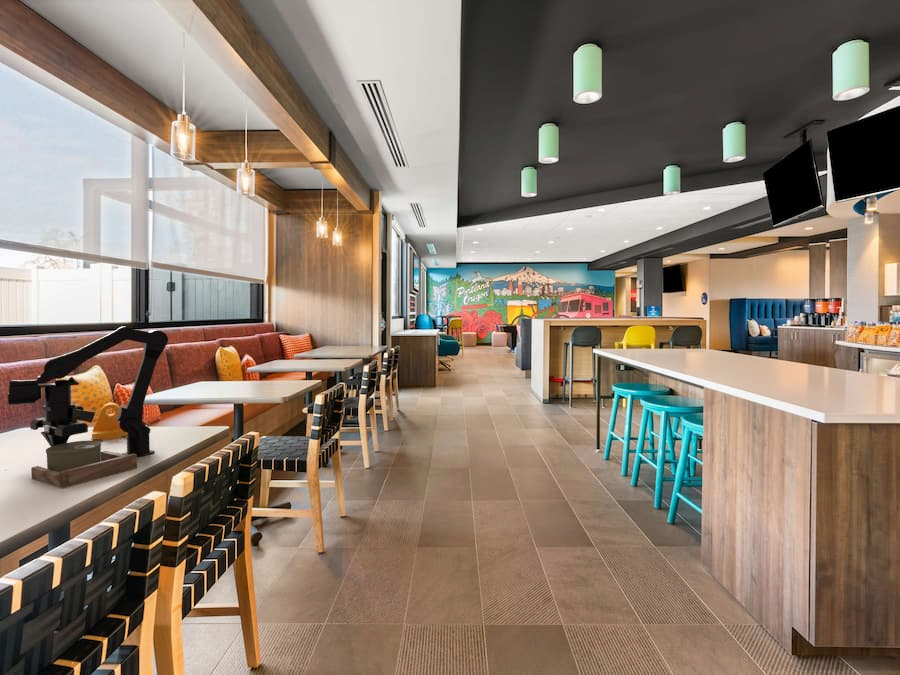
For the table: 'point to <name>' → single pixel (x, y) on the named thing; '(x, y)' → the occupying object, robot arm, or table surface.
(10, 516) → the table surface
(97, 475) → the pocket
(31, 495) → the table surface
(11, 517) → the table surface
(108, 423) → the bracket
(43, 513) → the table surface
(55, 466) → the can
